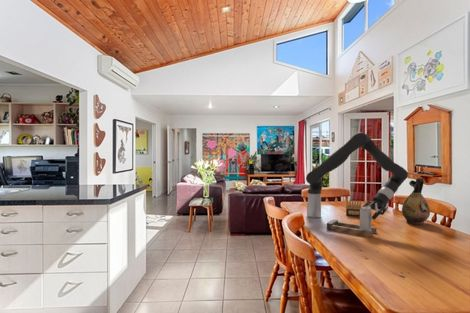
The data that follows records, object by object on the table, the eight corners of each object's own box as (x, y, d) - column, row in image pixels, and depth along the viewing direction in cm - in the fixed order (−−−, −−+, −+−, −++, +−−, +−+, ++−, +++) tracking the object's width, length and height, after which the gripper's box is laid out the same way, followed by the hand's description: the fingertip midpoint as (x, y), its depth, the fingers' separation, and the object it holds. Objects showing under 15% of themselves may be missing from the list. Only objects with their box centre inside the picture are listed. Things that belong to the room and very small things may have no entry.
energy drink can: (361, 231, 156) (361, 206, 156) (372, 233, 152) (372, 207, 152) (358, 233, 151) (358, 207, 151) (370, 235, 148) (370, 209, 147)
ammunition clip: (361, 216, 194) (361, 200, 194) (361, 216, 193) (361, 200, 192) (346, 215, 199) (346, 199, 199) (346, 215, 197) (345, 199, 197)
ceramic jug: (421, 227, 164) (421, 179, 164) (396, 221, 178) (396, 177, 178) (436, 223, 172) (436, 178, 172) (411, 218, 186) (411, 176, 186)
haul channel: (326, 229, 160) (326, 223, 160) (333, 225, 169) (333, 219, 169) (371, 237, 144) (371, 230, 144) (376, 232, 153) (376, 225, 153)
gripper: (370, 190, 161) (354, 210, 158) (389, 193, 147) (372, 215, 145) (378, 198, 162) (362, 218, 160) (397, 202, 149) (380, 224, 146)
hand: (367, 216), depth 152 cm, fingers open, 8 cm apart
